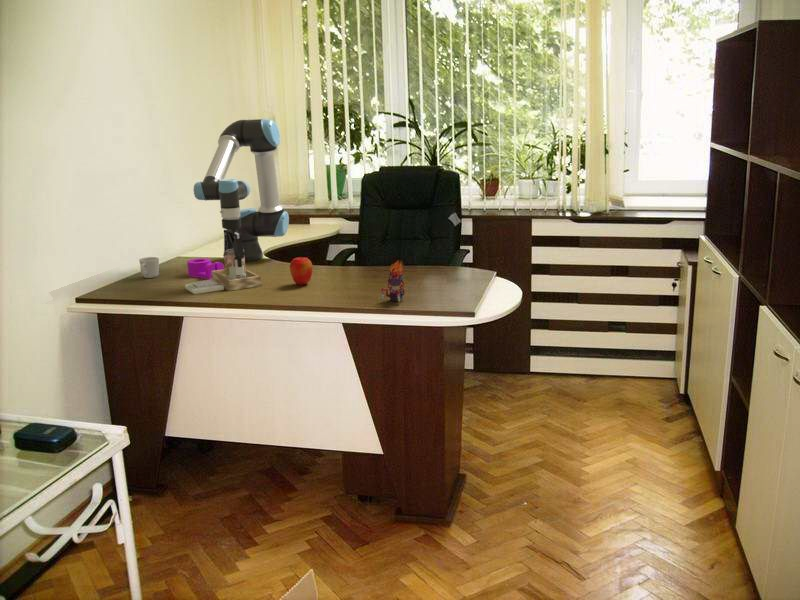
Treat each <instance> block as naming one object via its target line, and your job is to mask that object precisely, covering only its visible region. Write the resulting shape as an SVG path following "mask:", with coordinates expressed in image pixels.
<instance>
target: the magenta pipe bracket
mask: <svg viewBox="0 0 800 600" xmlns="http://www.w3.org/2000/svg"><path fill="white" fill-rule="evenodd" d="M186 263H187V275H188V277H190V278H200V279H206V280H211V278H212V272H211V271H216V270H223V269H225V264H223V262H220V261H215V262H213V263H212V260H211V259H210V258H201V257H200V258H193V259H190V260H189V259H188V261H186Z"/></svg>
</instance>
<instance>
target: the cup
mask: <svg viewBox="0 0 800 600" xmlns="http://www.w3.org/2000/svg"><path fill="white" fill-rule="evenodd" d="M159 261H160V259H159V257H157V256H149V257H148V256H146V257H143V258H139V265H140V273H141V274H142V277H143V278H145V279H153V278H158V277H159V273H160V272H159V271H160V262H159Z"/></svg>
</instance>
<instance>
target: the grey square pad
mask: <svg viewBox="0 0 800 600" xmlns="http://www.w3.org/2000/svg"><path fill="white" fill-rule="evenodd" d="M190 284H191V285H192V286H194V287H195V288H197V289H199V288H206V287H212V286H217V283H215V282H214V281H212V280H211V279H206V280H200V281H193V282H192V281H191V282H190Z"/></svg>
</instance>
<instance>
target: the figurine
mask: <svg viewBox="0 0 800 600" xmlns="http://www.w3.org/2000/svg"><path fill="white" fill-rule="evenodd" d="M403 273H404V266H403V261H400V260H399V259H398V260H396V262H394V263H392V264H391V265H390V272H389V274H388V279H387V288H384V287H381V289H380V291H381V296H379V297H378V299H380V300H385V296H386V297H387V298H389V299H390V300H392V301H391V302H401V301H402V300H403V296H404V295H405V293H406V292H405V287H404V286H405V283H404V280H403V279H404V274H403ZM395 287H399V288H398V289H395ZM384 291H385V292H384ZM401 299H402V300H401ZM390 300H389V301H390Z"/></svg>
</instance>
